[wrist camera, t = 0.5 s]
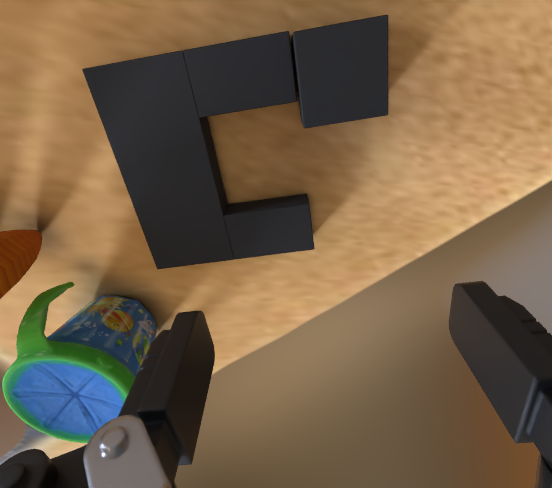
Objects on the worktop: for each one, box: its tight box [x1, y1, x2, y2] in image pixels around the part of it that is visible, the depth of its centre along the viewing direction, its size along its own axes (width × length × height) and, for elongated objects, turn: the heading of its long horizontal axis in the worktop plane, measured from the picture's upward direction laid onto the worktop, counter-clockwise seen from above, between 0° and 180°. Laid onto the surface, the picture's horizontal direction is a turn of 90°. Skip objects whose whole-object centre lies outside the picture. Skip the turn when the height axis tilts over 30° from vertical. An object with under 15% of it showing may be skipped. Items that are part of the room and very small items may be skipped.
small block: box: [292, 15, 388, 128], centre depth 23 cm, size 6×6×4 cm
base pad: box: [82, 31, 314, 269], centre depth 27 cm, size 16×14×2 cm
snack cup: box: [2, 282, 157, 443], centre depth 32 cm, size 16×10×10 cm
